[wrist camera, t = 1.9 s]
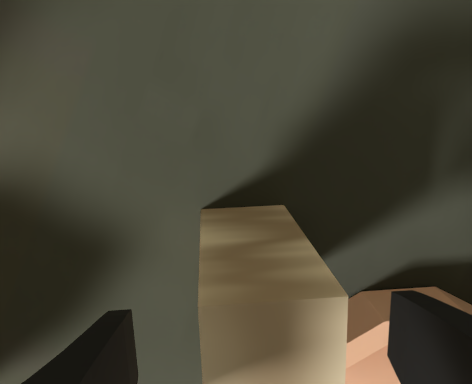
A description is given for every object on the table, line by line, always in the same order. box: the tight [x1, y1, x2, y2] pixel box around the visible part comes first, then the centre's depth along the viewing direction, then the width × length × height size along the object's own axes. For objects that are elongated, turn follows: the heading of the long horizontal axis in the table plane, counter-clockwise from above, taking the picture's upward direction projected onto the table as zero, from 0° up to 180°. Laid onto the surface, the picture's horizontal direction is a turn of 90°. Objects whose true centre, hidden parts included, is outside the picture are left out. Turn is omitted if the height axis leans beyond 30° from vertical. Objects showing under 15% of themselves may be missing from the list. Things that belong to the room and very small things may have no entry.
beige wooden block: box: [198, 205, 348, 384], centre depth 14 cm, size 4×4×8 cm
